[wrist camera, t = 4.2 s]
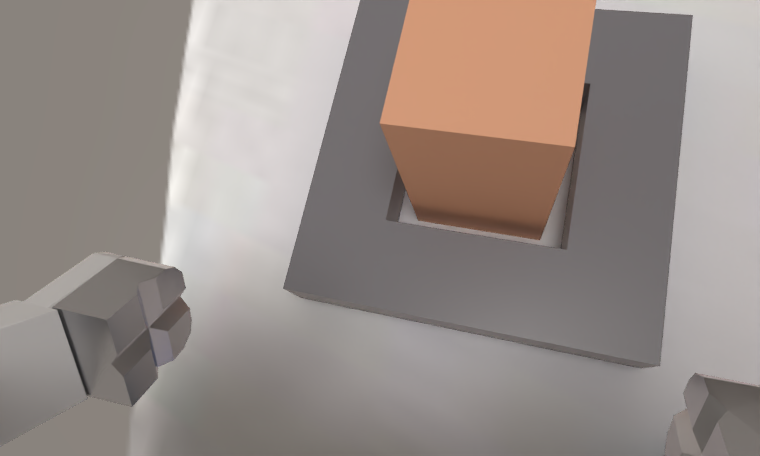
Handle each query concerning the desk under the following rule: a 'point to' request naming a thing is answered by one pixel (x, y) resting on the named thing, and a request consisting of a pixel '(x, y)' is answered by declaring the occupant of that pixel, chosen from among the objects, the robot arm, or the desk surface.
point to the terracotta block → (487, 108)
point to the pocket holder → (498, 256)
